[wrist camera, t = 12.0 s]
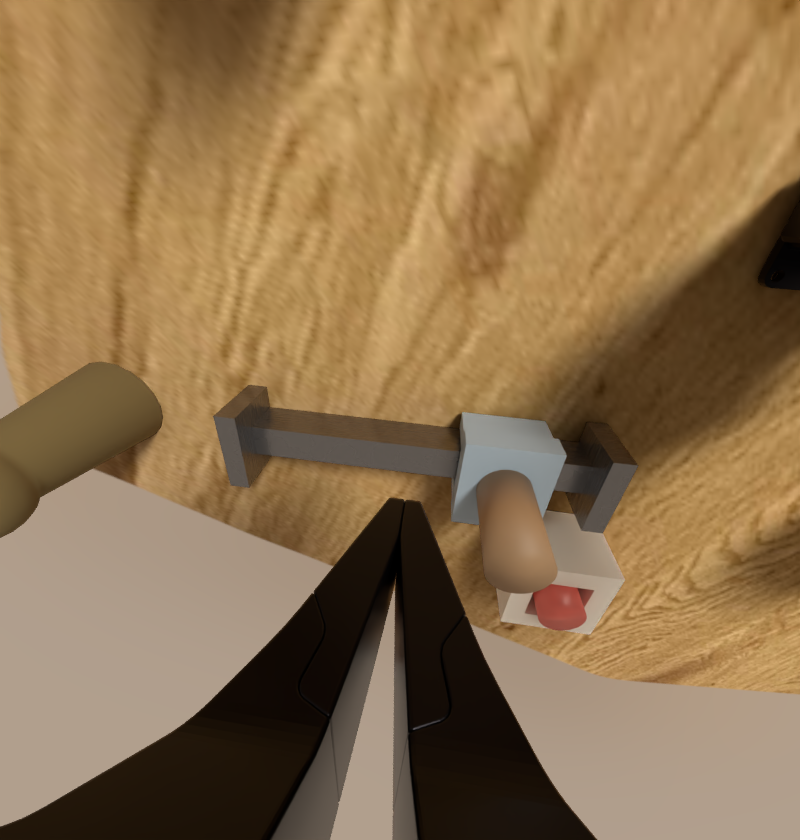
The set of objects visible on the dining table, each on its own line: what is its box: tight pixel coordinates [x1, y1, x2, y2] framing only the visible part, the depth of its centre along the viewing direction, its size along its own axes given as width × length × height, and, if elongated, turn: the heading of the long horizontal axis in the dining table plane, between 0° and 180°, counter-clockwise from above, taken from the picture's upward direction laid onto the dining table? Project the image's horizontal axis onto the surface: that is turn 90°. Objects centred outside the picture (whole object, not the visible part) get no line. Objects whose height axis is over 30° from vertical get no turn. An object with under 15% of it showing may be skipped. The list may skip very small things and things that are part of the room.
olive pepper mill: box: [0, 362, 163, 538], centre depth 20 cm, size 6×6×11 cm
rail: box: [213, 385, 638, 534], centre depth 21 cm, size 22×5×4 cm, turn 86°
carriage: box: [451, 412, 567, 594], centre depth 19 cm, size 5×6×9 cm
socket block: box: [496, 510, 625, 635], centre depth 24 cm, size 6×6×5 cm
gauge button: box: [533, 584, 587, 630], centre depth 23 cm, size 3×3×4 cm
